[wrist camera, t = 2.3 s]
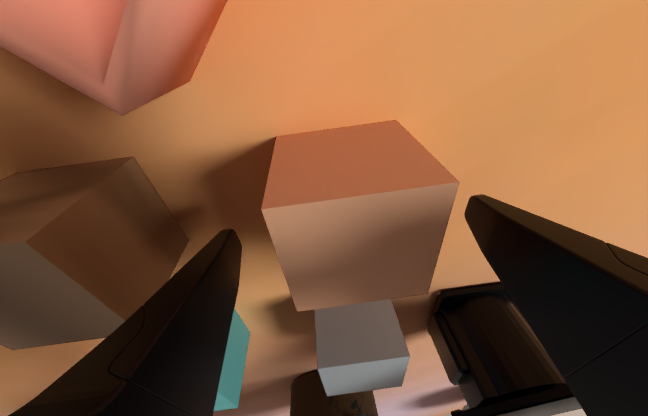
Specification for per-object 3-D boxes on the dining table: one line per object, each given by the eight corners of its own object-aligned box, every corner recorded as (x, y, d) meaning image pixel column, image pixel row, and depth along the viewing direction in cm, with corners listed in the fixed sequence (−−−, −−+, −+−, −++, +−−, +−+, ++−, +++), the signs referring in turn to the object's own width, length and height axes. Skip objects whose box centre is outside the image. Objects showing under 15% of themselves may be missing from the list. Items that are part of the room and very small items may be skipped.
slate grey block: (383, 277, 17) (410, 356, 13) (381, 313, 20) (401, 386, 16) (313, 287, 17) (317, 368, 13) (321, 322, 20) (327, 396, 16)
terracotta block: (395, 119, 10) (459, 181, 6) (388, 211, 13) (427, 293, 9) (276, 136, 10) (261, 209, 6) (298, 224, 13) (297, 311, 9)
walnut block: (134, 155, 10) (25, 242, 6) (189, 239, 13) (141, 332, 9) (17, 172, 10) (-168, 268, 6) (100, 251, 13) (12, 350, 9)
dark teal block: (228, 298, 17) (206, 383, 13) (250, 331, 20) (237, 407, 16) (158, 308, 17) (115, 395, 13) (191, 339, 20) (163, 417, 16)
